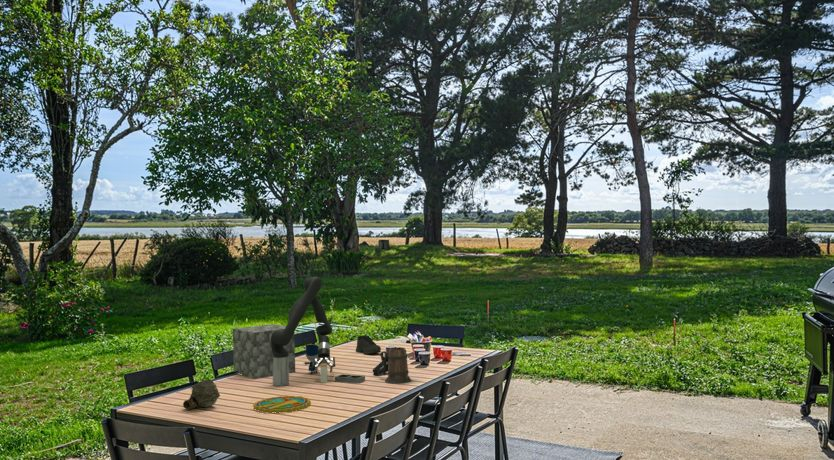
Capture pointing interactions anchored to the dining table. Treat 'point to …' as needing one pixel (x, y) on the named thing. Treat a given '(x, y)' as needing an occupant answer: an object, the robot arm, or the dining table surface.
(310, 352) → the figurine
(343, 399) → the dining table surface
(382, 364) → the toy gun
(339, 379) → the divided rectangular frame
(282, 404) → the decorative plaque
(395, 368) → the tankard
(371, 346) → the running shoe
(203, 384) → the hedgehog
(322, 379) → the two-tone square post
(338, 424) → the dining table surface
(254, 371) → the block
